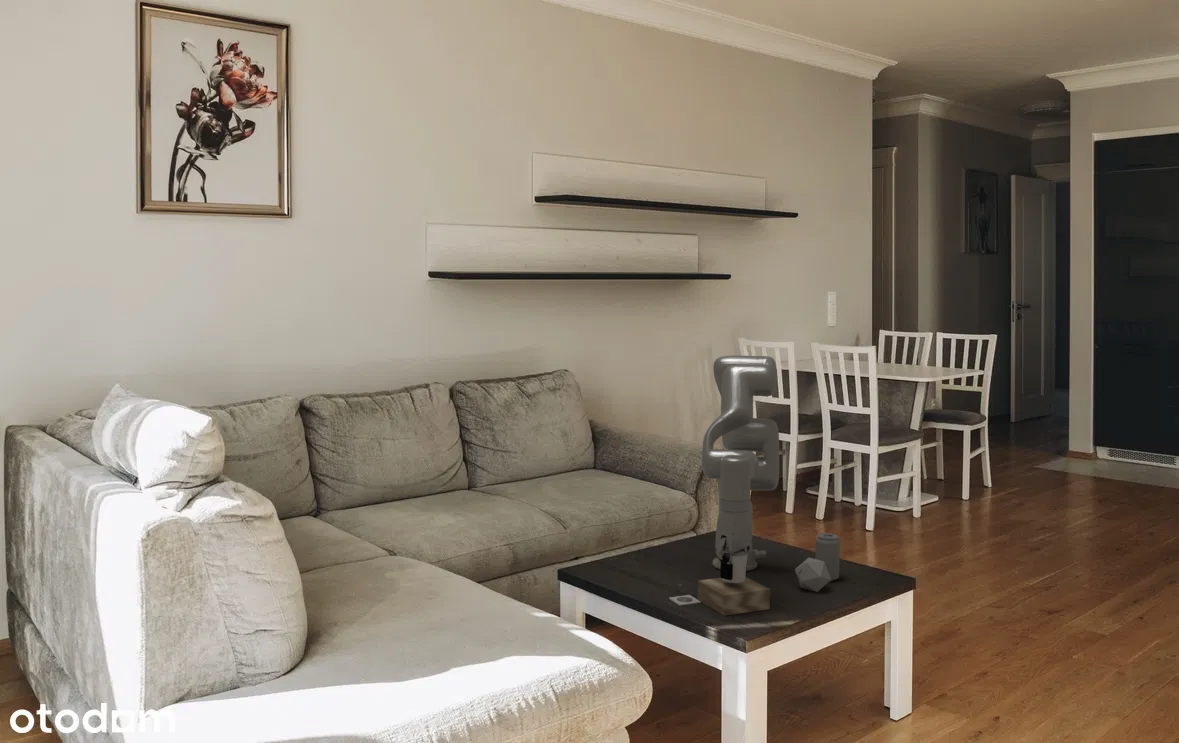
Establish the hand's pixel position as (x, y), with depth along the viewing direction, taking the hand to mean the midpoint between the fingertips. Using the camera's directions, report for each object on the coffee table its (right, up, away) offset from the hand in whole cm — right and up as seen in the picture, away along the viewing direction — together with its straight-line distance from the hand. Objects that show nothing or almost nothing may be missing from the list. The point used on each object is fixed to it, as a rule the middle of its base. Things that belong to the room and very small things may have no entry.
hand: (733, 575), depth 244 cm
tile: (-12, -7, +3) cm, 14 cm away
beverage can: (+29, -6, +22) cm, 37 cm away
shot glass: (0, -1, 0) cm, 1 cm away
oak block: (0, -7, 0) cm, 7 cm away
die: (+23, -7, +13) cm, 27 cm away
